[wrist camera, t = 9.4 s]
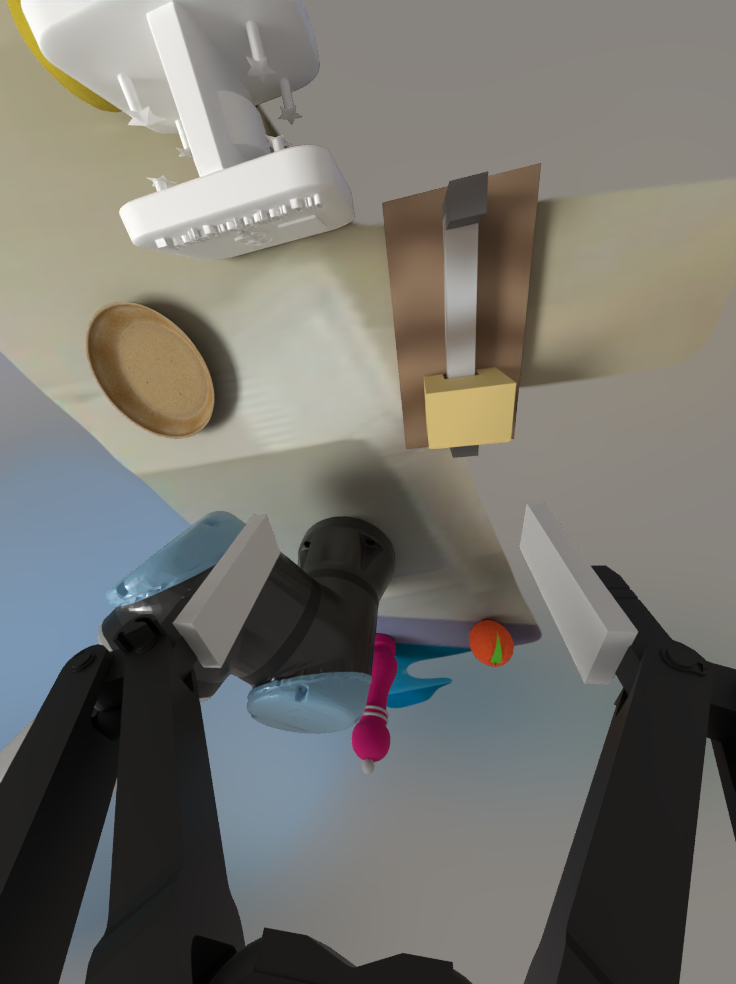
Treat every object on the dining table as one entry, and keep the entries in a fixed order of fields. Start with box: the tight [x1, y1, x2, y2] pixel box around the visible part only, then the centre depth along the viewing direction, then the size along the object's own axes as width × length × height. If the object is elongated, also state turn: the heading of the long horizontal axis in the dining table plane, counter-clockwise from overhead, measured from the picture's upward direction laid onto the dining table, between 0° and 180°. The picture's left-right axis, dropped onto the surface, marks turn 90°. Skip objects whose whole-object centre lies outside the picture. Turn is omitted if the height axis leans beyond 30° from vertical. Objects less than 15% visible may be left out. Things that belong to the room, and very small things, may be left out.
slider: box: [424, 367, 516, 449], centre depth 29 cm, size 5×7×7 cm
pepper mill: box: [352, 634, 397, 774], centre depth 52 cm, size 7×7×20 cm
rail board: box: [382, 163, 541, 458], centre depth 27 cm, size 22×12×7 cm, turn 9°
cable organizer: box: [21, 0, 355, 261], centre depth 21 cm, size 15×11×12 cm
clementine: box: [469, 620, 514, 667], centre depth 50 cm, size 8×7×7 cm
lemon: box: [7, 0, 122, 112], centre depth 21 cm, size 6×6×8 cm
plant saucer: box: [86, 302, 214, 439], centre depth 35 cm, size 15×15×3 cm
